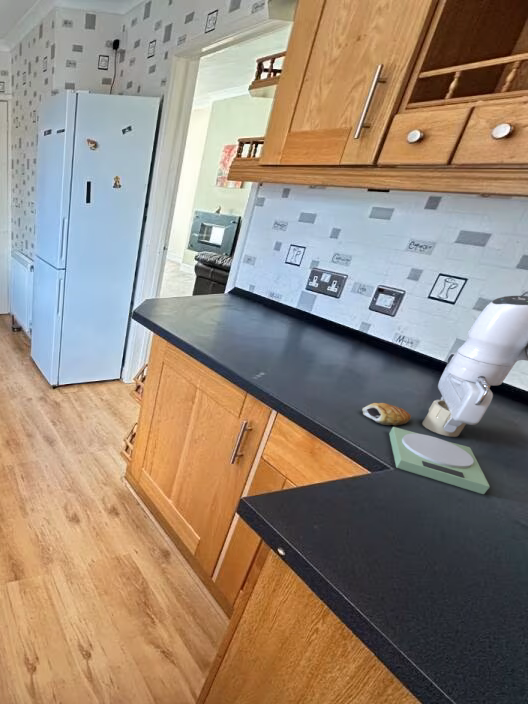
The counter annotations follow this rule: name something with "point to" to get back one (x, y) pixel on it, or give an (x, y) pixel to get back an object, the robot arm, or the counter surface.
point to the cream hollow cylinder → (440, 419)
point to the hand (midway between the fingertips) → (443, 422)
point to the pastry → (386, 414)
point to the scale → (437, 460)
